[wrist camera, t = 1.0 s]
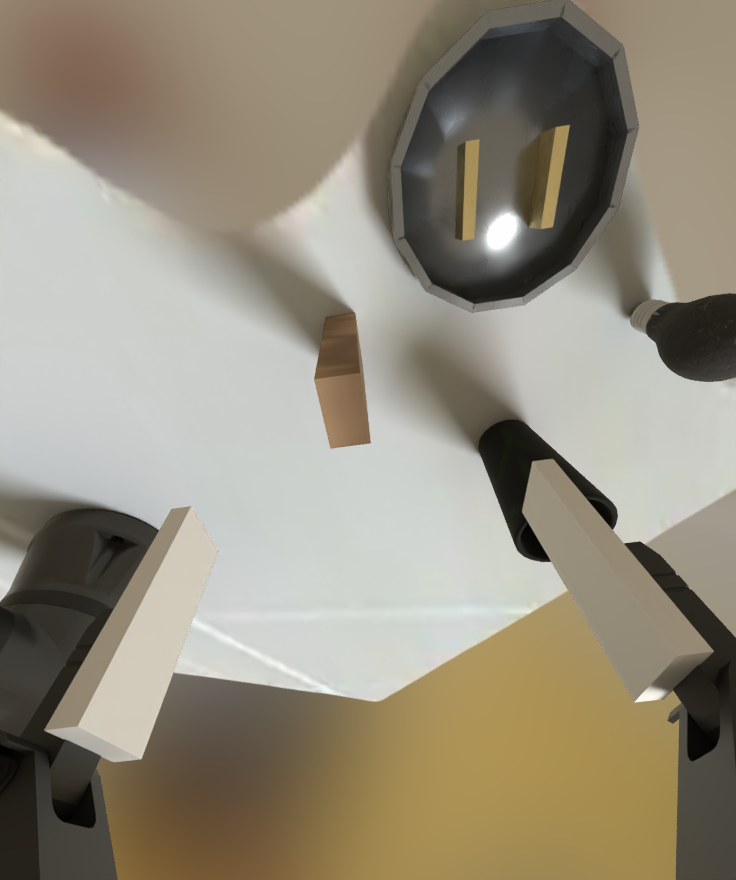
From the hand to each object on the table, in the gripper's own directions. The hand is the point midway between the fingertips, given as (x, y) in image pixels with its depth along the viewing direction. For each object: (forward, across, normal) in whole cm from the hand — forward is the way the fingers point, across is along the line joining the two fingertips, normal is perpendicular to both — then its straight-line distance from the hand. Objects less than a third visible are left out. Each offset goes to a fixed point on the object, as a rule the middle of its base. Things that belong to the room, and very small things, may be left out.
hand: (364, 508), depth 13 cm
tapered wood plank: (+19, -1, +1) cm, 19 cm away
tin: (+19, +11, +10) cm, 24 cm away
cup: (+19, +14, -12) cm, 27 cm away
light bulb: (+19, +24, 0) cm, 31 cm away
